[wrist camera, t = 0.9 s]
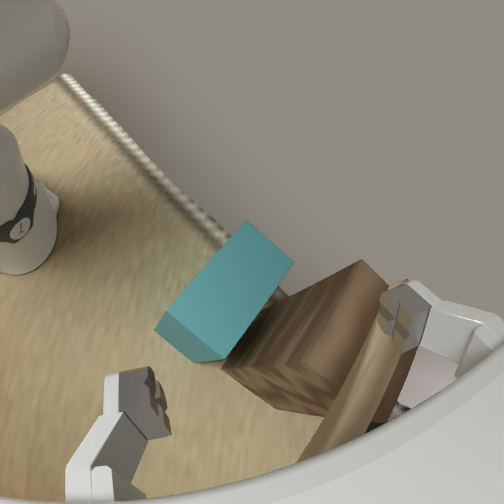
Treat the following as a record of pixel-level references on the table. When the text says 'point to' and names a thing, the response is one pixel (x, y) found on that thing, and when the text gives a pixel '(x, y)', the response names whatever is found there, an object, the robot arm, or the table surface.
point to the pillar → (315, 345)
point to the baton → (358, 393)
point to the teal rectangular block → (224, 296)
